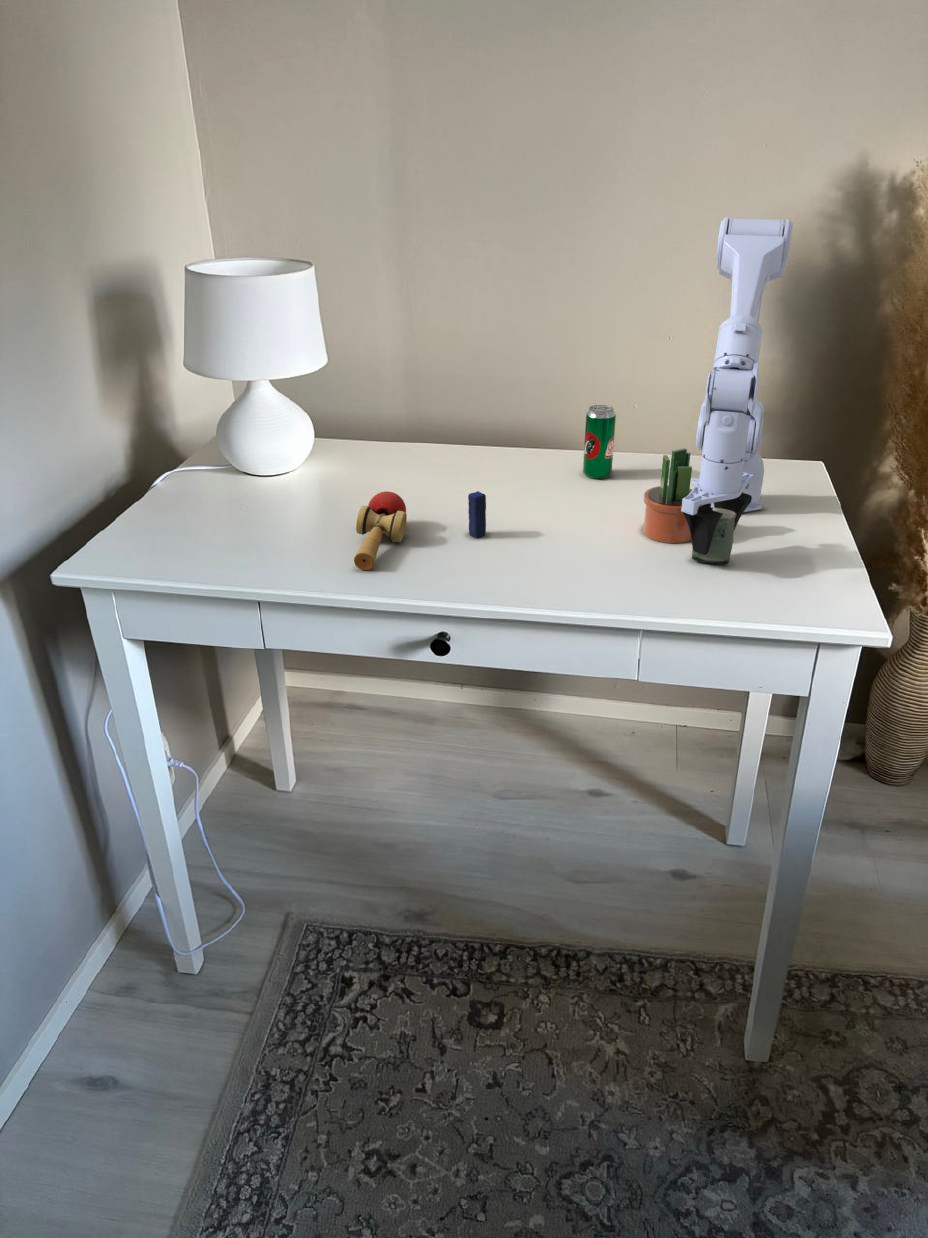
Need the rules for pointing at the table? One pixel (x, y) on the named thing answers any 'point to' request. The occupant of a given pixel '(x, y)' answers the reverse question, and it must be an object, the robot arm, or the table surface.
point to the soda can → (599, 441)
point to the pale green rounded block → (720, 540)
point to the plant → (669, 501)
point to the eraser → (477, 514)
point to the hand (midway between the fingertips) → (711, 546)
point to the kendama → (379, 525)
